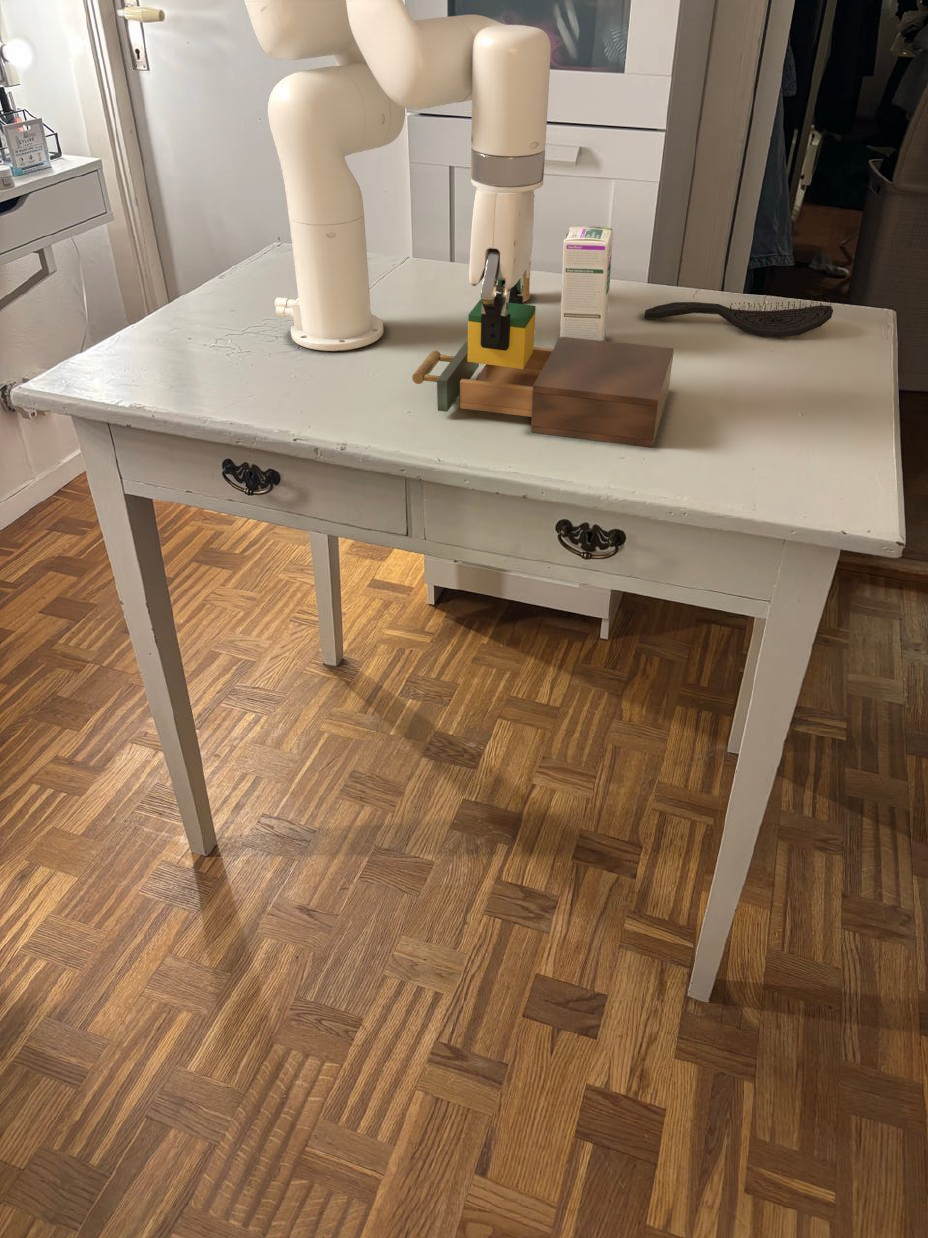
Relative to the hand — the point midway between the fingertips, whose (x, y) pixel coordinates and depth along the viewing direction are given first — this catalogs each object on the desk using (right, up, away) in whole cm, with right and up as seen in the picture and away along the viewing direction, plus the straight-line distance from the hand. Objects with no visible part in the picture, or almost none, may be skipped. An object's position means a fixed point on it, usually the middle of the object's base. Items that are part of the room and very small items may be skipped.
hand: (501, 336), depth 108 cm
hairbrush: (+33, +8, +23) cm, 41 cm away
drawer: (-1, -5, +4) cm, 7 cm away
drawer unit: (+12, -8, +2) cm, 14 cm away
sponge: (0, -2, +2) cm, 2 cm away
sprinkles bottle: (+3, +15, +32) cm, 35 cm away
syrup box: (+11, +4, +17) cm, 21 cm away
